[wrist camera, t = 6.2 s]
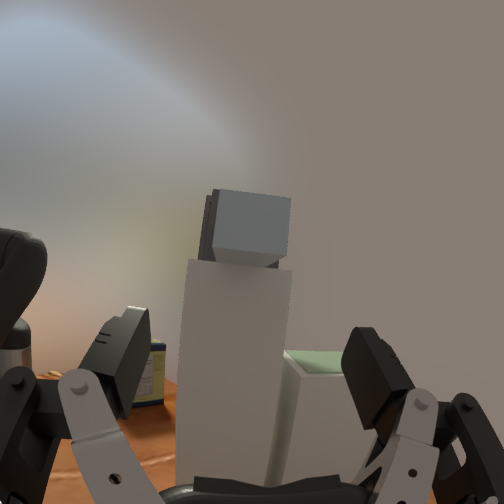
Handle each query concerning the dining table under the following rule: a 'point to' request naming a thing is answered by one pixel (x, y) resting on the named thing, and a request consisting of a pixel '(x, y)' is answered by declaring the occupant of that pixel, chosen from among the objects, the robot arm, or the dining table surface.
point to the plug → (247, 228)
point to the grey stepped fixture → (257, 385)
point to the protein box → (152, 377)
